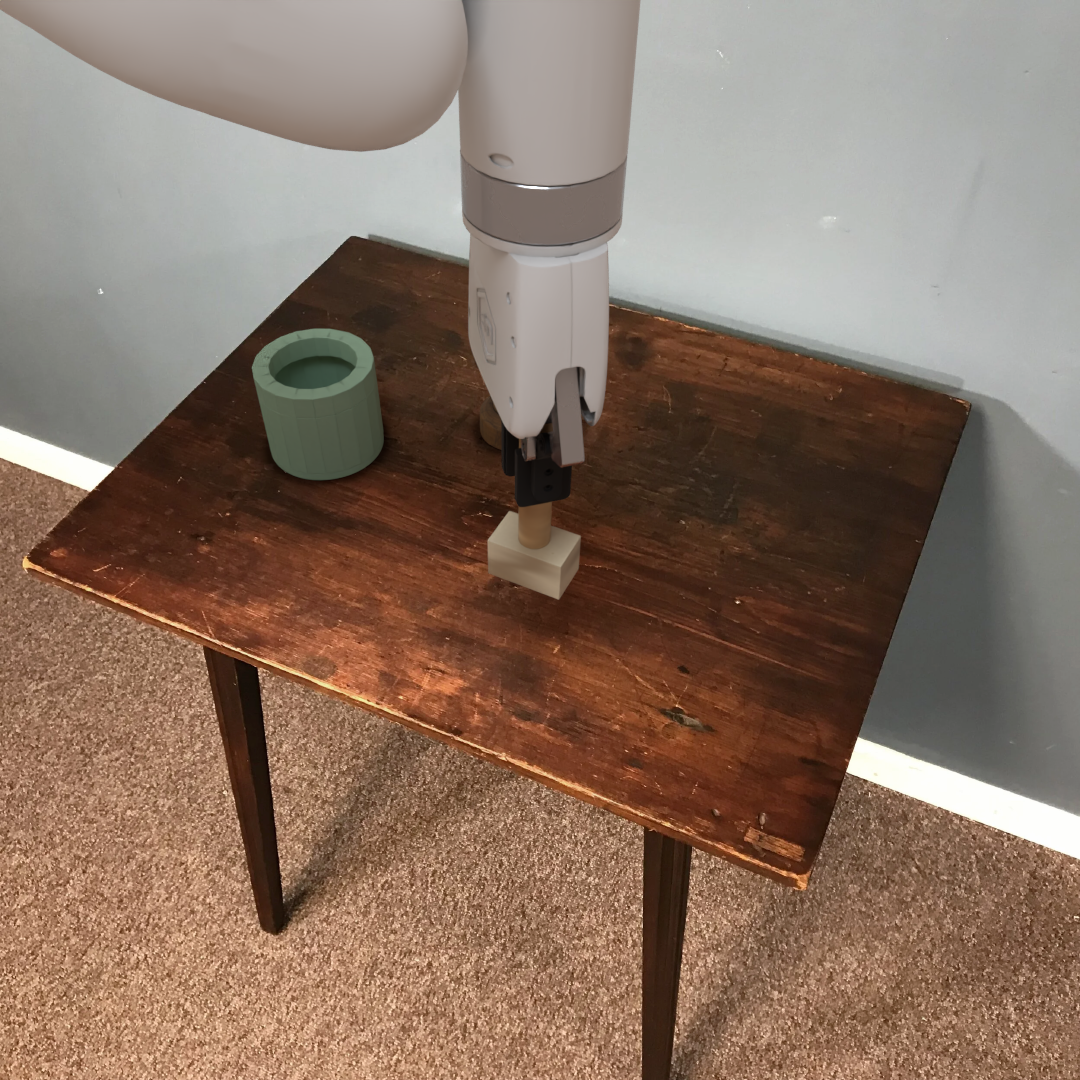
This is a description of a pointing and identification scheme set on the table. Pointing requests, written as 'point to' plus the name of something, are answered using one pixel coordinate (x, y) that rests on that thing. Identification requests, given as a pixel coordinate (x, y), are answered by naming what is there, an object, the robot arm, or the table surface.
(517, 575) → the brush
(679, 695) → the table surface
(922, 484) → the table surface
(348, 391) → the jar
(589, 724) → the table surface
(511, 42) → the robot arm
